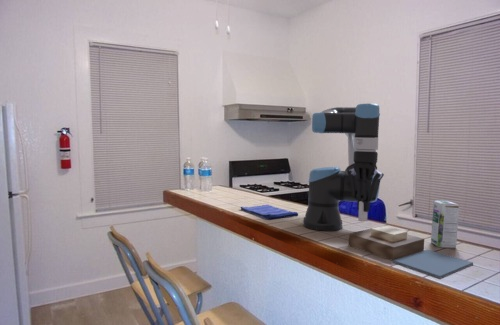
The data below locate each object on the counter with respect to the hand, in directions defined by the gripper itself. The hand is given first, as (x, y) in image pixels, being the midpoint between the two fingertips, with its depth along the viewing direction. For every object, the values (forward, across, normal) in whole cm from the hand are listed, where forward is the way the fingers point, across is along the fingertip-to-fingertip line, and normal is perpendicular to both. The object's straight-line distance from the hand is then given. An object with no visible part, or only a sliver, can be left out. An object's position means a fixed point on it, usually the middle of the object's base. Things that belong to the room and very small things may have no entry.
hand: (362, 220), depth 115 cm
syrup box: (+7, +17, +20) cm, 27 cm away
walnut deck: (+7, +9, 0) cm, 11 cm away
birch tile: (+3, +10, 0) cm, 10 cm away
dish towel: (+8, -51, -1) cm, 52 cm away
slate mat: (+7, +24, 0) cm, 25 cm away
